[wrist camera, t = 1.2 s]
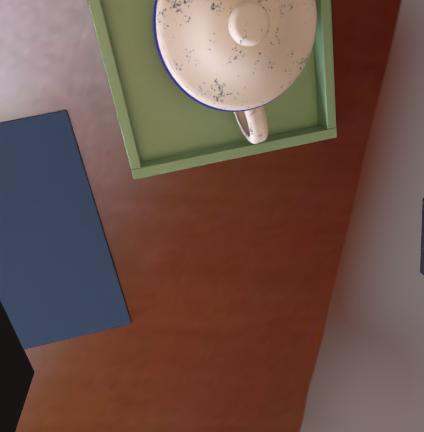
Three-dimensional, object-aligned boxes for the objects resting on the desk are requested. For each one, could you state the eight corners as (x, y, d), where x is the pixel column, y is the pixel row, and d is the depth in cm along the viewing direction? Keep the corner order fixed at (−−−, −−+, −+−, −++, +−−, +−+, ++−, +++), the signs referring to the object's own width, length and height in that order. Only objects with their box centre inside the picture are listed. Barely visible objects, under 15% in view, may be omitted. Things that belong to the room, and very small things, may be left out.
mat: (131, 322, 38) (131, 323, 38) (-42, 363, 37) (-43, 365, 37) (66, 109, 30) (66, 110, 30) (-157, 152, 29) (-160, 153, 29)
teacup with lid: (129, -14, 28) (122, -53, 17) (252, -58, 28) (321, -124, 17) (188, 147, 33) (211, 194, 22) (292, 108, 33) (365, 136, 22)
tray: (326, 132, 34) (337, 137, 33) (134, 172, 33) (133, 179, 31) (315, -88, 28) (327, -97, 26) (77, -50, 27) (72, -57, 25)
